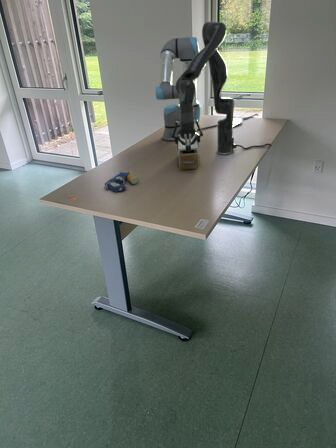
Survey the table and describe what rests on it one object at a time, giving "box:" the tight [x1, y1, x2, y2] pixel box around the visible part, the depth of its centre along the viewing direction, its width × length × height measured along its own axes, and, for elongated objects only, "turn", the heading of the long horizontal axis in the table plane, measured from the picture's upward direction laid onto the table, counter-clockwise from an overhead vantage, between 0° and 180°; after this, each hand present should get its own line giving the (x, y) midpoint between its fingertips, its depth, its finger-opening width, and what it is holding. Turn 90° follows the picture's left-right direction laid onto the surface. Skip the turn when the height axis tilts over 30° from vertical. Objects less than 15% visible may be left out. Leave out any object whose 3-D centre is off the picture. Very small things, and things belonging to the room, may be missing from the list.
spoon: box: [233, 117, 243, 128], centre depth 261 cm, size 35×11×2 cm, turn 159°
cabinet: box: [177, 137, 200, 168], centre depth 204 cm, size 18×12×11 cm, turn 178°
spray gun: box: [103, 170, 139, 193], centre depth 182 cm, size 21×4×15 cm
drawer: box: [178, 150, 199, 171], centre depth 195 cm, size 23×10×9 cm, turn 178°
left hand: (187, 148), depth 207 cm, fingers closed on cabinet, 12 cm apart
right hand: (188, 151), depth 184 cm, fingers closed
